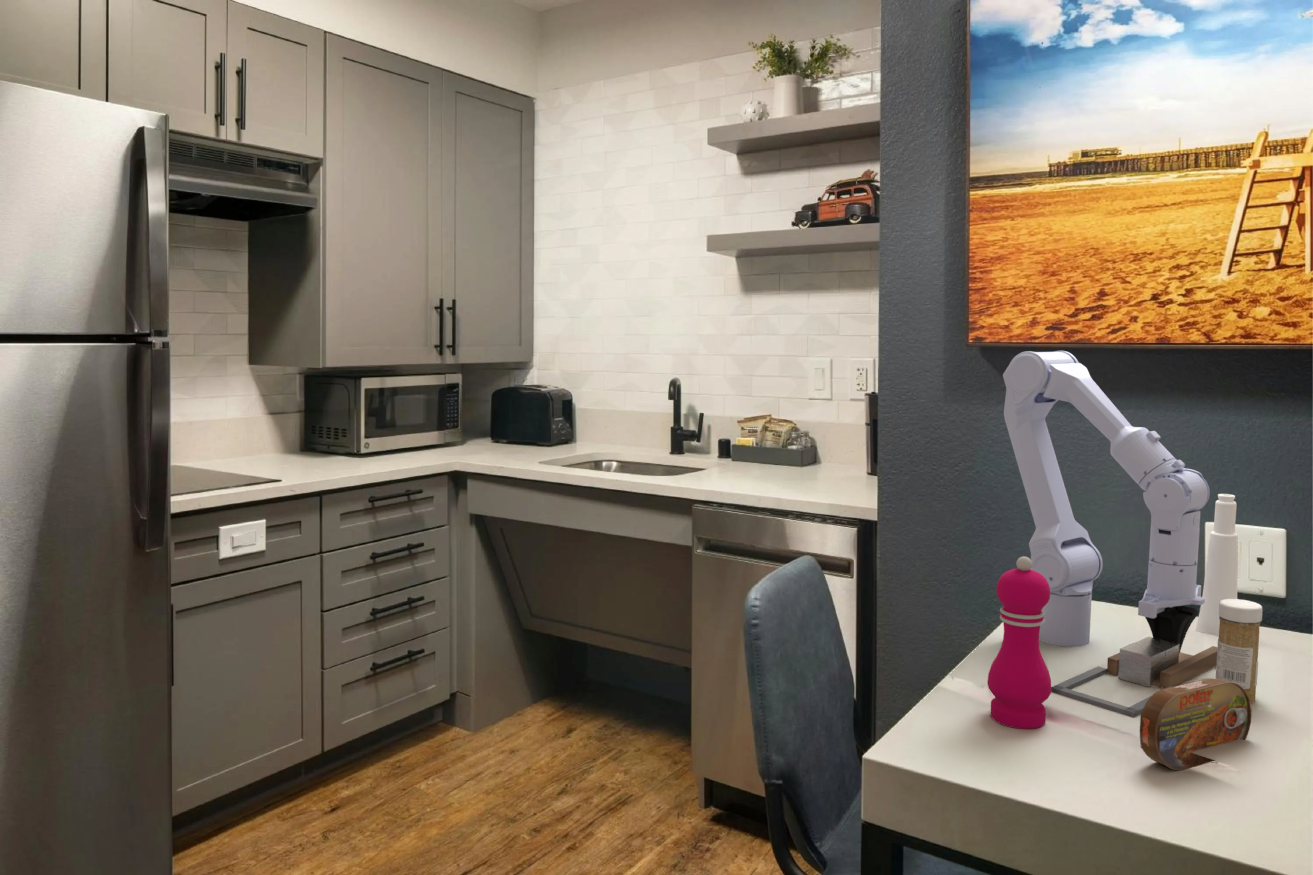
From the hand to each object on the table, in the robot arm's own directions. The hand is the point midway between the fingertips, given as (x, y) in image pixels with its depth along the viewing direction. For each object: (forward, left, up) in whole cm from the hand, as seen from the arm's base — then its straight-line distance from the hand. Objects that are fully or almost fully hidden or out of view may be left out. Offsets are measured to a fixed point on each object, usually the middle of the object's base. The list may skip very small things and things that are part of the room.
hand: (1167, 659), depth 128 cm
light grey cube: (0, -7, -1) cm, 7 cm away
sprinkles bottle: (+10, -4, -3) cm, 11 cm away
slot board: (0, 0, -2) cm, 3 cm away
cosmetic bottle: (-3, +25, -3) cm, 25 cm away
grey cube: (0, -3, -1) cm, 4 cm away
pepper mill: (-5, -28, -3) cm, 29 cm away
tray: (0, -15, -2) cm, 15 cm away
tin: (+13, -23, -3) cm, 27 cm away
